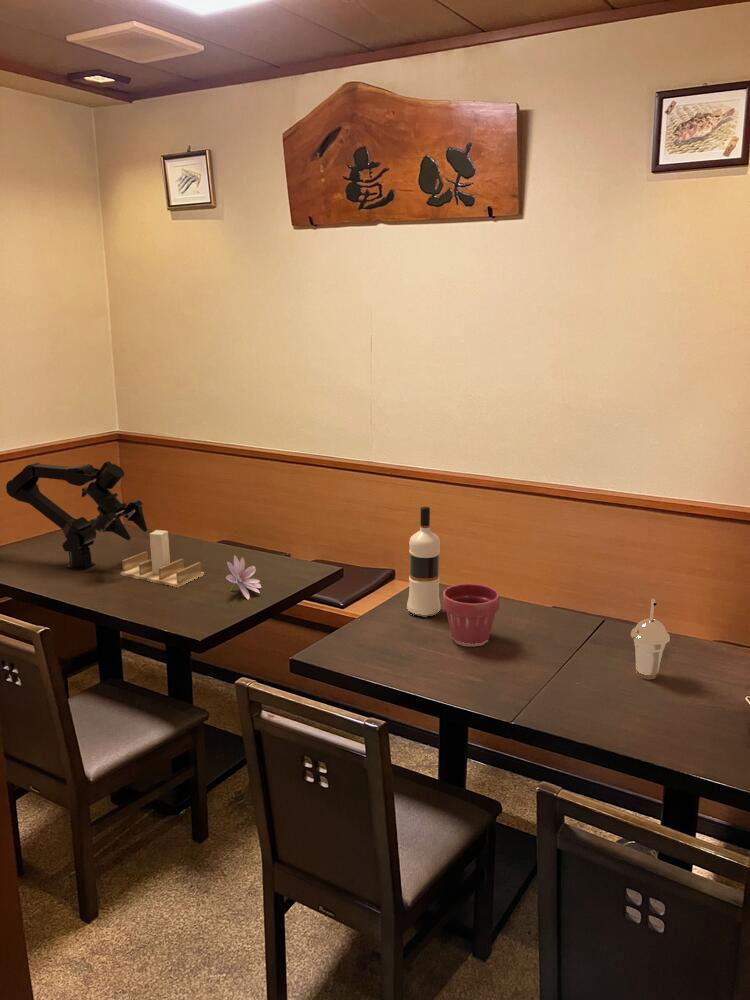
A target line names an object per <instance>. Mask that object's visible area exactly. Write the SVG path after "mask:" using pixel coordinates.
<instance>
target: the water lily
mask: <svg viewBox="0 0 750 1000" xmlns="http://www.w3.org/2000/svg"><path fill="white" fill-rule="evenodd" d="M226 564H227V567H228V569H229V571H230V572H231V574H227V575H226V576H225V579H226V580H228V581H229V582H230V583H232V584H233V585H232V586H231V588H229V591H230V592H232V591H233V590H234V589H235V587H236V586H237V585H238V586H239V590H240V591H241V593H242V595H243V597H244V598H246V599H247V600H249V599H250V598H251V597H250V593H249V591H248V590H250V591H252V592H255V593H258V594H261V592H260V590H259V589H261V588H262V585H261V583H260V582H261V581H260V579H257V578H251V577H252V576H253V575H254V574H255V573H256V570H257V568H256V566H254V565H251V566H248V567H247V568H246V563H245V558H244V557H243V556H242V557H241V558H240V560H239V559H238V557H237V556H236V555H233V564H232V563H231V562H230V561H227V562H226ZM245 568H246V569H245Z"/></svg>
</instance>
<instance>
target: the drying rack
mask: <svg viewBox="0 0 750 1000" xmlns="http://www.w3.org/2000/svg"><path fill="white" fill-rule="evenodd" d="M148 554H149V552H148V551H142V552H140V553H137V554H135V555H133V556H130V557H128V558H125V559H123V560H121V563H122V564H121V565H122V571H120V576H122V577H123V576H124V577H128V578H131V577H132V579H137V580H140V579H141V581H145V580H146V582H149V581H150V583H154V584H159V585H163V584H164V586H167V585H169V586H168V587H172V586H173V587H172V588H176V587H177V589H178V588H180V587H181V586H184V585H187V584H188V582H189V583H191V582H192V581H195V580H197V579H199V578H201V577H204V576H203V575H205V572H204V571H202V563H201V562H200V561H197V562H196V563H193V564H191V565H189V566H187V567H185V562H184V558H179V559H176V560H175V561H174V560H173V561H172V562H170V564H167V565H165V566H163V567H160V568H159V575H158V574H153V571H152V558H150V559H149V555H148ZM198 577H199V578H198ZM194 579H195V580H194ZM190 581H191V582H190ZM186 583H187V584H186Z"/></svg>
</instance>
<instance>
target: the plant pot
mask: <svg viewBox="0 0 750 1000" xmlns="http://www.w3.org/2000/svg"><path fill="white" fill-rule="evenodd" d="M442 606H443V607H442V608H443V610H444V611H445V612H446V616H447V621H448V626H449V631H450V635H451V638H452V637H453V638H454V639H455V640H457V641H460V642H464V643H470V644H472V643H473V644H475V643H482V642H484V641H486V640H488V639H490V636H491V631H492V627H493V624H494V619H495V615H496V614H497V613H498V611H500V593H499V592H498V590H496V589H495V588H493V587H491V586H489V585H485V584H480V583H479V584H478V583H459V584H454V585H451V586H448V587H447V588H445V589H444V590H443V593H442ZM488 641H489V640H488Z"/></svg>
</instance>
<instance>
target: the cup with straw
mask: <svg viewBox="0 0 750 1000" xmlns="http://www.w3.org/2000/svg"><path fill="white" fill-rule="evenodd" d="M650 599H651V600H650V612H649V618H643V619H642V620H640V621H639V622H638V623H637V624H636V625H635V627H633V628H632V629H631V632H630V637H631V638H632V639H633V644H634V649H635V650H634V652H635V653H634V654H635V671H636V670H637V671H638V672H639V673H641V674H644V675H655V674H657V673H658V674H659V669H660V665H661V659H662V658H663V657H662V656H663V652H664V650H665V647H666V644H668V643H669V642H670V639H671V638H670V637H671V636H670V634H669V633H668V632H667V630H666V627H665V625H664V624H663V623H662V622H661V621H659V620H657V619H655V618H654V612H655V611H654V609H655V606H656V607H657V605H658V604H657V602H656V600H655V598H653V597H652V598H650ZM637 671H636V672H637ZM658 674H657V675H658Z"/></svg>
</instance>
